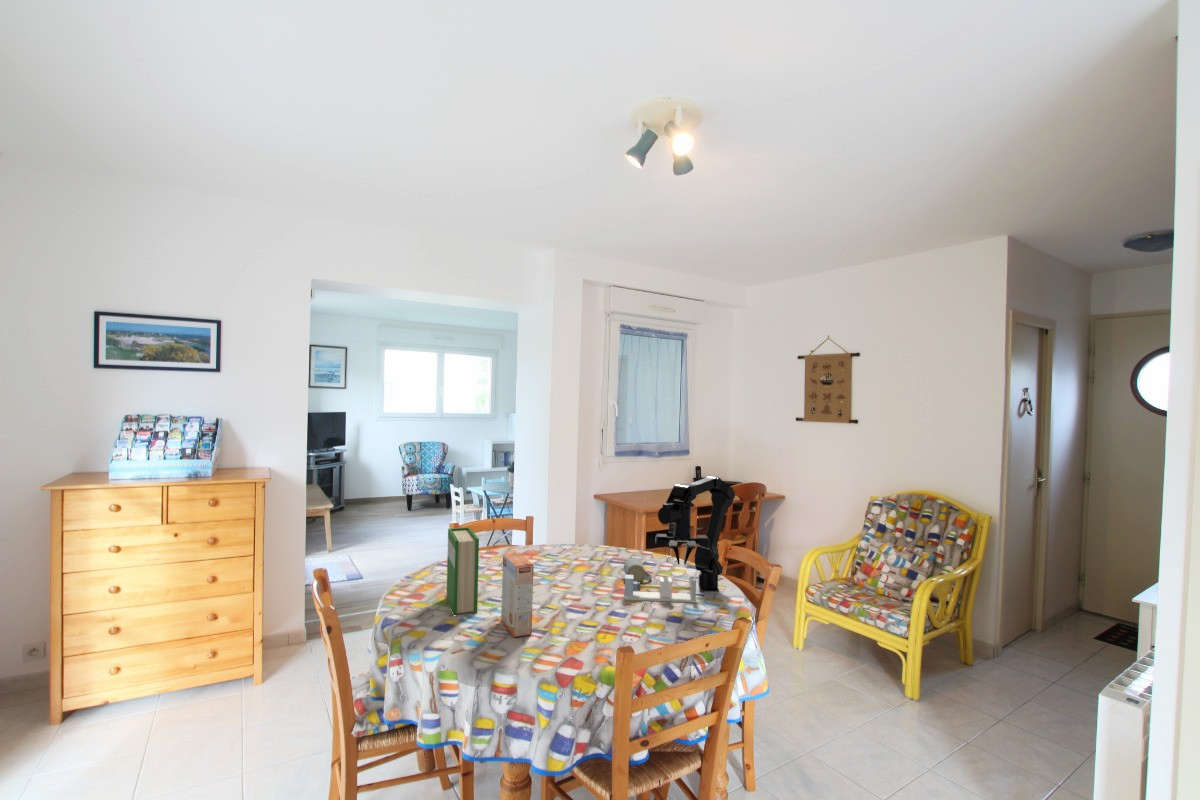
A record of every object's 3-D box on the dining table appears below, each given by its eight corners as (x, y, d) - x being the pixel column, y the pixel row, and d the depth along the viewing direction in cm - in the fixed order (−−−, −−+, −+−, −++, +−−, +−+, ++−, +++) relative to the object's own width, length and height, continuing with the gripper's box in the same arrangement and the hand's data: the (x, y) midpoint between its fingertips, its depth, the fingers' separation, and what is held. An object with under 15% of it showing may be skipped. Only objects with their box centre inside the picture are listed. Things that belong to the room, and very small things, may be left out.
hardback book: (477, 613, 174) (478, 538, 174) (453, 616, 171) (455, 540, 171) (468, 595, 190) (469, 527, 191) (446, 597, 187) (448, 528, 188)
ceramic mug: (626, 583, 206) (627, 563, 207) (623, 576, 215) (623, 557, 215) (653, 583, 208) (654, 563, 208) (649, 576, 216) (649, 557, 216)
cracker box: (533, 635, 158) (534, 563, 159) (513, 638, 156) (514, 566, 156) (519, 617, 171) (520, 551, 171) (500, 620, 169) (502, 553, 169)
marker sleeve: (670, 592, 194) (670, 577, 194) (671, 597, 189) (672, 581, 189) (659, 592, 195) (659, 576, 195) (660, 596, 190) (660, 581, 190)
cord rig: (694, 595, 195) (694, 574, 195) (696, 602, 188) (696, 581, 188) (624, 592, 196) (625, 572, 196) (624, 599, 189) (624, 578, 189)
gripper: (705, 516, 199) (705, 559, 199) (655, 515, 200) (654, 557, 200) (710, 523, 188) (709, 568, 188) (656, 521, 189) (655, 566, 189)
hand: (681, 564), depth 192 cm, fingers closed
